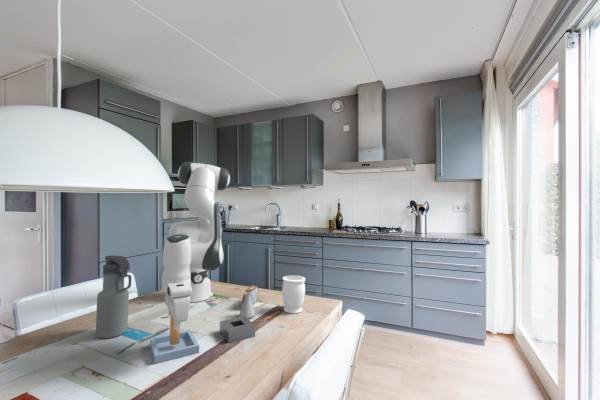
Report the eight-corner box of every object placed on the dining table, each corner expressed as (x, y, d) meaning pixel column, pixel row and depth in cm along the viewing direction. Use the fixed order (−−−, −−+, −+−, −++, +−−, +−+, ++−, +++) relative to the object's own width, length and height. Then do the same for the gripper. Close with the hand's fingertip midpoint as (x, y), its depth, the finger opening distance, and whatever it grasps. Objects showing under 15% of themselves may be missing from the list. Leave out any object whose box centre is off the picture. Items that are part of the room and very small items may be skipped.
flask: (252, 320, 121) (252, 296, 121) (235, 318, 123) (236, 294, 123) (257, 313, 128) (258, 291, 128) (242, 312, 130) (243, 289, 130)
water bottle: (134, 329, 109) (137, 255, 109) (111, 341, 100) (114, 260, 100) (113, 325, 112) (115, 253, 112) (88, 336, 103) (91, 257, 103)
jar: (306, 307, 138) (307, 276, 138) (302, 315, 128) (303, 281, 128) (284, 305, 140) (285, 274, 140) (279, 313, 129) (280, 279, 130)
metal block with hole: (219, 331, 110) (219, 321, 110) (244, 326, 115) (244, 316, 115) (228, 343, 101) (229, 331, 101) (254, 336, 107) (255, 325, 107)
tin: (253, 299, 147) (253, 282, 147) (259, 300, 146) (259, 283, 146) (241, 310, 132) (242, 291, 132) (247, 310, 132) (248, 292, 132)
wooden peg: (166, 341, 97) (167, 308, 97) (180, 338, 99) (181, 306, 99) (168, 347, 93) (169, 312, 93) (182, 343, 96) (183, 310, 96)
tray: (149, 345, 98) (149, 338, 98) (189, 336, 105) (190, 329, 105) (154, 364, 87) (155, 356, 87) (199, 352, 94) (199, 345, 94)
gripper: (161, 277, 103) (160, 316, 103) (171, 294, 86) (170, 340, 86) (180, 275, 107) (178, 313, 107) (193, 291, 90) (192, 335, 90)
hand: (175, 325), depth 96 cm, fingers closed on wooden peg, 4 cm apart
